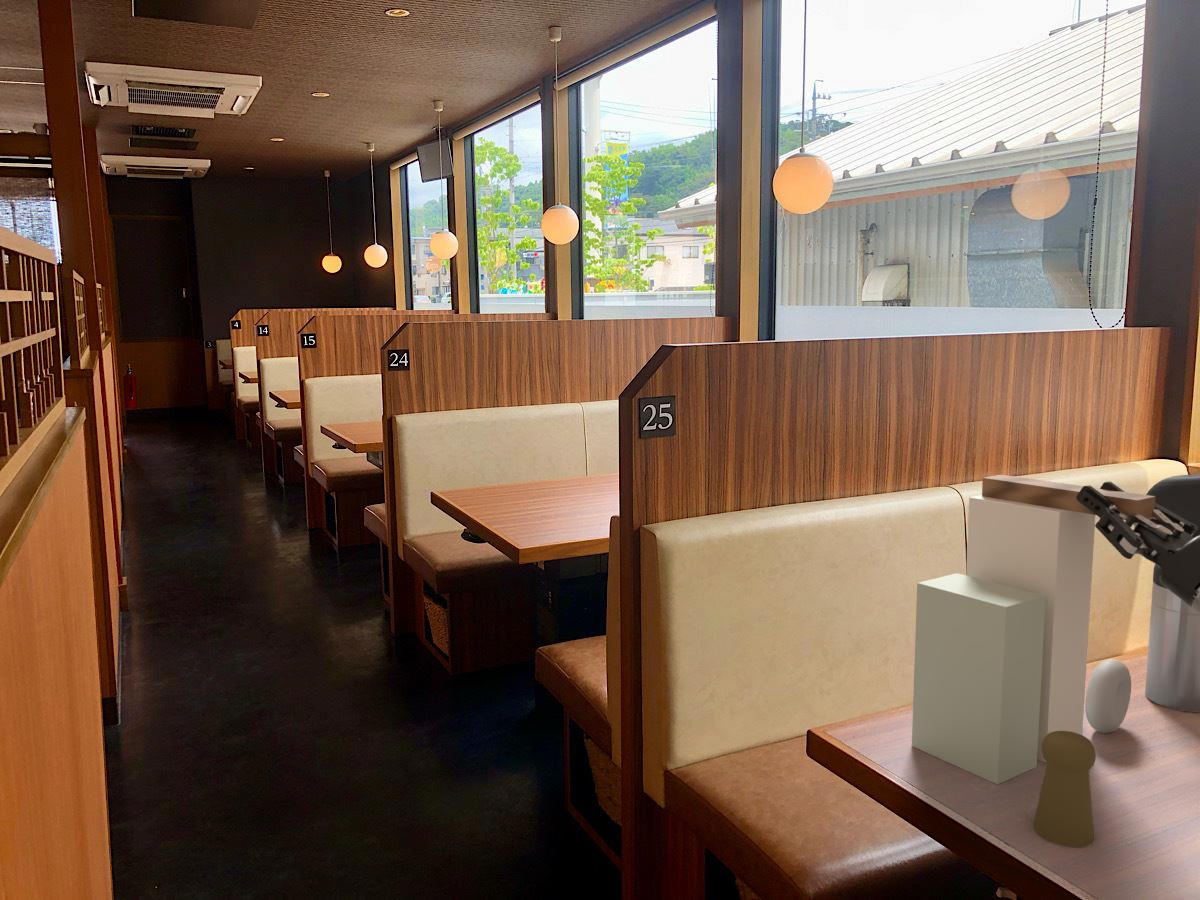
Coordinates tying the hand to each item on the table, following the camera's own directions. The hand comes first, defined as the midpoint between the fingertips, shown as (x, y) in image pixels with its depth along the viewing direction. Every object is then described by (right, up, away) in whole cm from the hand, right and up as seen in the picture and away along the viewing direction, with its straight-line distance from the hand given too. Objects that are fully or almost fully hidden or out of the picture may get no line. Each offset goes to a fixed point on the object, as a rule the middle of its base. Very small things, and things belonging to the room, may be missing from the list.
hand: (1092, 489), depth 113 cm
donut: (+9, -33, +13) cm, 37 cm away
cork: (-9, -37, -12) cm, 40 cm away
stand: (-8, -34, +9) cm, 36 cm away
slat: (-2, -2, +3) cm, 4 cm away
